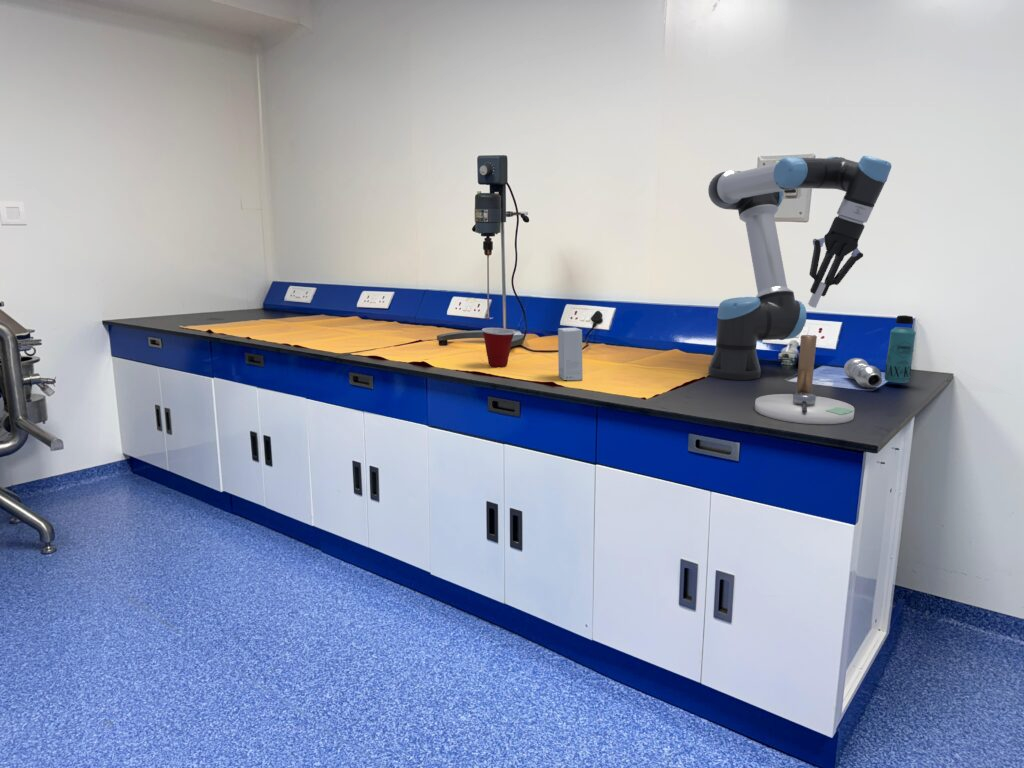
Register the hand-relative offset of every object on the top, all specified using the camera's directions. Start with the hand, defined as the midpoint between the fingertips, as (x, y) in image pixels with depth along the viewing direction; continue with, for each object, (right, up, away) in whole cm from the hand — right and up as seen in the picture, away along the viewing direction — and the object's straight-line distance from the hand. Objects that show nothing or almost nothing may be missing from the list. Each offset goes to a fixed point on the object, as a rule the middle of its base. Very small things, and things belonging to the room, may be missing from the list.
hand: (811, 305), depth 187 cm
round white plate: (-10, -28, -19) cm, 35 cm away
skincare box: (-63, -19, +20) cm, 69 cm away
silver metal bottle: (+22, -16, +22) cm, 35 cm away
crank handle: (-10, -25, -19) cm, 34 cm away
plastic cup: (-85, -15, +39) cm, 95 cm away
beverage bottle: (+29, -22, +11) cm, 38 cm away
